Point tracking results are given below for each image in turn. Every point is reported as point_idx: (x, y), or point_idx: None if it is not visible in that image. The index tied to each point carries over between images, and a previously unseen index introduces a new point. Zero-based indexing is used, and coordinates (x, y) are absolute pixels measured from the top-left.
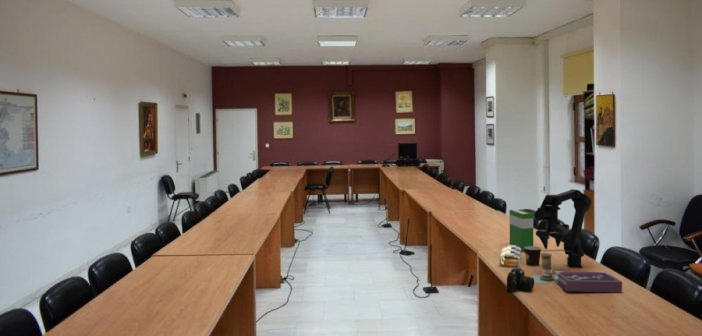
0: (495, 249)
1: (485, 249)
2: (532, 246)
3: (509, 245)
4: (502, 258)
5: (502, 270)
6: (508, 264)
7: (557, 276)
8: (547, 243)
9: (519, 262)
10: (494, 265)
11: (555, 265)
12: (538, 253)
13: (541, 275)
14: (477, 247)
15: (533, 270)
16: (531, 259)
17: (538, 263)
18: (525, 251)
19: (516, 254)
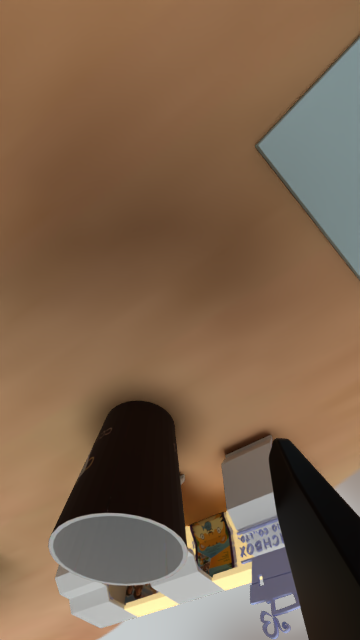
0: (66, 605)
1: None
2: (75, 570)
3: (104, 622)
4: (194, 544)
5: (351, 459)
6: (223, 494)
7: (300, 141)
8: (341, 538)
9: (254, 468)
10: None
11: (14, 357)
12: (125, 477)
13: (356, 253)
14: (103, 634)
15: (230, 372)
16: (174, 456)
17: (128, 414)
18: (174, 539)
19: None
